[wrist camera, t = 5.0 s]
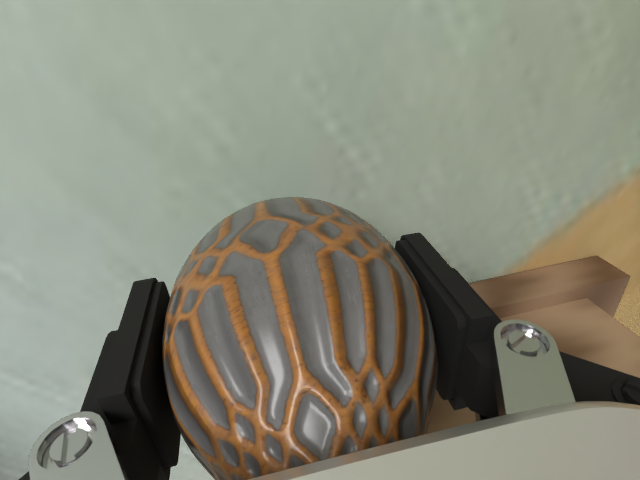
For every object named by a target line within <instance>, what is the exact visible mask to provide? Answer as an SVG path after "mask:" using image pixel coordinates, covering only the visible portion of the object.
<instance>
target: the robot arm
mask: <svg viewBox="0 0 640 480" xmlns="http://www.w3.org/2000/svg"><path fill="white" fill-rule="evenodd" d="M395 249H396V251H397V252H398V253H399V255H400V256H401V257H402V258H403V260H404V261H405V263H406V264H407V266H408V267H409V269H410V270H411V272H412V273H413V275H414V277H415V279H416V280H417V282H418V285H419V287H420V289H421V291H422V293H423V296H424V299H425V301H426V304H427V307H428V310H429V314H430V318H431V322H432V326H433V330H434V335H435V342H436V348H437V363H438V370H437V383H436V390H437V391H438V393H439V395H440V397H441V398H442V399H443V400H448V401H449V402H450V404H451V406H452V408H453V409H454V411H455V410H459V409H463V408H467V407H468V408H469V409H470V410H471V411H473V412H475V416H476V422H473V423H469V424H465V425H461V426H457V427H453V428H449V429H445V430H441V431H437V432H433V433H429V434H425V435H421V436H417V437H413V438H409V439H405V440H401V441H397V442H393V443H389V444H385V445H381V446H377V447H373V448H369V449H365V450H361V451H357V452H353V453H350V454H346V455H342V456H338V457H334V458H330V459H326V460H322V461H318V462H314V463H310V464H306V465H303V466H299V467H295V468H291V469H287V470H283V471H279V472H275V473H271V474H268V475H264V476H260V477H256V478H252V479H248V480H640V378H638V377H635V376H632V375H629V374H626V373H623V372H620V371H617V370H614V369H611V368H608V367H605V366H602V365H599V364H596V363H593V362H590V361H587V360H584V359H581V358H578V357H575V356H572V355H569V354H566V353H563V352H560V351H559V350H558V347H557V344H556V342H555V340H554V338H553V337H552V336H551V335H550V334H549V333H548V332H547V331H546V330H545V329H543V328H542V327H540V326H538V325H536V324H534V323H531V322H528V321H524V320H514V319H511V320H506V321H503V322H502V321H501V320H500V318H499V317H498V316H497V315H496V314H495V313H494V312H493V311H492V309H491V308H490V307H489V306H488V305H487V304H486V303H485V302H484V301H483V299H482V298H481V297H480V296H479V295H478V294H477V293H476V292H475V290H474V289H473V288H472V287H471V286H470V285H469V284H468V283H467V281H466V280H465V279H464V278H463V277H462V276H461V275H460V274H459V273H458V271H456V270H455V269H454V268H451V267H450V266H449V265H448V264H447V262H446V261H445V260H444V259H443V258H442V257H441V256H440V255H439V253H438V252H437V251H436V250H435V249H434V248H433V247H432V245H431V244H430V243H429V242H428V241H427V240H426V239H425V238H424V236H423V235H422V234H421V233H414V234H408V235H403V236H401V239H400V241H397V242H396V245H395ZM169 300H170V296H169V293H168V290H167V287H166V285H165V283H164V282H158V281H157V279H156V278H151V279H145V280H140V281H135V282H134V283H133V286H132V289H131V292H130V295H129V298H128V301H127V304H126V307H125V310H124V313H123V317H122V320H121V323H120V326H119V329H118V330H116V331H111V332H110V333H109V334H108V336H107V337H106V340H105V343H104V346H103V349H102V351H101V354H100V357H99V360H98V363H97V366H96V368H95V371H94V374H93V377H92V380H91V383H90V385H89V388H88V391H87V394H86V397H85V400H84V403H83V405H82V408H81V411H80V412H78V413H73V414H71V415H68V416H66V417H64V418H62V419H60V420H59V421H57V422H56V423H54V424H52V425H51V426H50V427H49V428H48V429H47V430H45V431H44V432H43V433H42V434H41V435H40V437H39V438H38V439H37V441H36V442H35V443H34V445H33V447H32V449H31V451H30V454H29V458H28V468H29V472H27V473H26V474H25V475H24V476H23V477H21V478H20V479H19V480H169V477H170V468H171V467H172V466H176V465H177V463H178V456H179V446H180V435H181V432H180V430H179V428H178V426H177V423H176V421H175V418H174V415H173V412H172V409H171V406H170V402H169V397H168V393H167V389H166V385H165V378H164V371H163V361H162V339H163V331H164V324H165V317H166V312H167V308H168V304H169Z"/></svg>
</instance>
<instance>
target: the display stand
mask: <svg viewBox="0 0 640 480" xmlns="http://www.w3.org/2000/svg"><path fill="white" fill-rule="evenodd" d="M629 279H630V276H629V275H628V274H626V273H624V272H623V271H621V270H619V269H618V268H616V267H615V266H613V265H611V264H610V263H608V262H606V261H605V260H603V259H602V258H600V257H598V256H593V257H589V258H584V259H579V260H575V261H570V262H566V263H561V264H556V265H552V266H547V267H542V268H538V269H533V270H529V271H524V272H519V273H515V274H510V275H505V276H501V277H496V278H491V279H487V280H482V281H478V282H473V283H468V284H469V285H470V286H471V287H472V288H473V289H474V290H475V292H476V293H477V294H478V295H479V296H480V297H481V298H482V299H483V301H484V302H485V303H486V304H487V305H488V306H489V307H490V308H491V309H492V311H493V312H494V313H495V314H496V315H497V316H498V317H499V318H500V320H501V321H502V322H503V321H506V320H511V319H514V320H524V321H528V322H531V323H534V324H536V325H538V326H540V327H542V328H543V329H545V330H546V331H547V332H548V333H549V334H550V335H551V336H552V337H553V338H554V340H555V342H556V344H557V347H558V350H559V351H560V352H563V353H566V354H569V355H572V356H575V357H578V358H581V359H584V360H587V361H590V362H593V363H596V364H599V365H602V366H605V367H608V368H611V369H614V370H617V371H620V372H623V373H626V374H629V375H632V376H635V377H638V378H640V337H639V336H638V335H636V334H635V333H633V332H632V331H631V330H629V329H628V328H627V327H625V326H624V325H623V324H621V323H620V322H619V321H617V320H616V319H615V318H613V316H614V314H615V312H616V309H617V307H618V305H619V302H620V300H621V297H622V295H623V293H624V290H625V288H626V286H627V283H628V281H629ZM473 422H476V416H475V412H473V411H471V410H470V409H469V408H468V407H467V408H463V409H459V410H455V411H454V409H453V408H452V406H451V404H450V402H449V401H448V400H443V399H442V398H441V397H440V395H439V393H438V391H437V390H436V391H435V396H434V401H433V407H432V411H431V416H430V420H429V424H428V429H427V433H426V434H429V433H433V432H437V431H441V430H445V429H449V428H453V427H457V426H461V425H465V424H469V423H473Z"/></svg>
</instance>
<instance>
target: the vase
mask: <svg viewBox="0 0 640 480" xmlns="http://www.w3.org/2000/svg"><path fill="white" fill-rule="evenodd" d="M162 361H163V371H164V378H165V385H166V389H167V393H168V397H169V402H170V406H171V409H172V412H173V415H174V418H175V421H176V423H177V426H178V428H179V430H180V432H181V434H182V436H183V438H184V440H185V442H186V444H187V445H188V447H189V448H190V450H191V451H192V453H193V454H194V456H195V457H196V459H197V460H198V461H199V462H200V463H201V465H202V466H203V467H204V468H205V469H206V470H207V472H208V473H209V474H210V475H211V476H212V477H213V478H214V479H215V480H248V479H252V478H256V477H260V476H264V475H268V474H271V473H275V472H279V471H283V470H287V469H291V468H295V467H299V466H303V465H306V464H310V463H314V462H318V461H322V460H326V459H330V458H334V457H338V456H342V455H346V454H350V453H353V452H357V451H361V450H365V449H369V448H373V447H377V446H381V445H385V444H389V443H393V442H397V441H401V440H405V439H409V438H413V437H417V436H421V435H425V434H426V433H427V429H428V424H429V420H430V416H431V411H432V407H433V401H434V396H435V391H436V383H437V370H438V363H437V348H436V342H435V335H434V330H433V326H432V322H431V318H430V314H429V310H428V307H427V304H426V301H425V299H424V296H423V293H422V291H421V289H420V287H419V285H418V282H417V280H416V279H415V277H414V275H413V273H412V272H411V270H410V269H409V267H408V266H407V264H406V263H405V261H404V260H403V258H402V257H401V256H400V255H399V253H398V252H397V251H396V249H395V248H394V247H393V246H392V245H391V243H390V242H389V241H388V240H387V239H386V238H385V237H384V236H383V235H382V234H381V233H380V232H379V231H378V230H377V229H375V228H374V227H373V226H372V225H370V224H369V223H367V222H366V221H364V220H363V219H361V218H360V217H358V216H357V215H355V214H354V213H352V212H350V211H348V210H346V209H343V208H341V207H339V206H336V205H334V204H331V203H328V202H325V201H321V200H316V199H310V198H299V197H285V198H275V199H270V200H265V201H261V202H258V203H255V204H252V205H250V206H247V207H245V208H243V209H241V210H239V211H237V212H235V213H233V214H232V215H230V216H228V217H227V218H225V219H224V220H222V221H221V222H220V223H218V224H217V225H216V226H215V227H214V228H212V229H211V230H210V231H209V232H208V233H207V234H206V235H205V237H204V238H203V239H202V240H201V241H200V242H199V243H198V244H197V246H196V247H195V248H194V250H193V251H192V252H191V254H190V255H189V257H188V259H187V260H186V262H185V264H184V265H183V267H182V269H181V271H180V273H179V275H178V277H177V279H176V282H175V285H174V288H173V291H172V293H171V297H170V300H169V304H168V308H167V312H166V317H165V324H164V331H163V339H162Z"/></svg>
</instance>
